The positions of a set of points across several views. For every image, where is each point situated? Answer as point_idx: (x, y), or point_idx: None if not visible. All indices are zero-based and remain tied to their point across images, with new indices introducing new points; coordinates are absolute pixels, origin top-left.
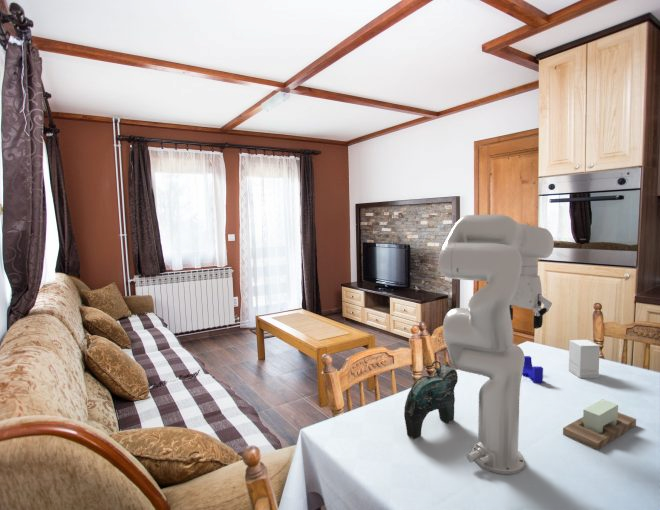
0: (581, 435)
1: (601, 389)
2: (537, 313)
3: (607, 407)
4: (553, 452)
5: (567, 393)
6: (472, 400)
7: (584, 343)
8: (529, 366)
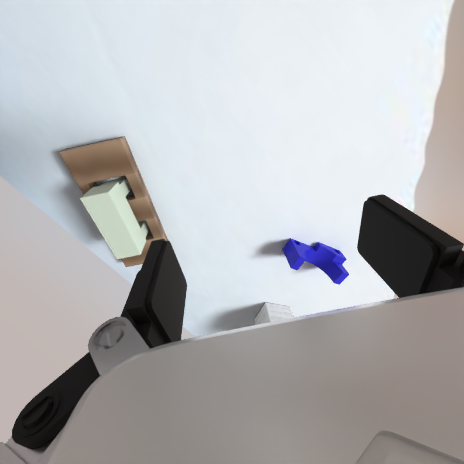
0: (88, 148)
1: (227, 299)
2: (115, 342)
3: (109, 236)
4: (63, 54)
5: (238, 255)
6: (308, 55)
7: None
8: (325, 266)
